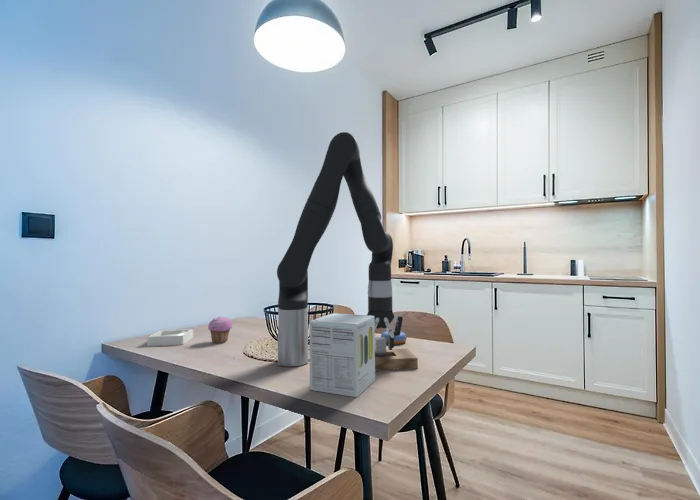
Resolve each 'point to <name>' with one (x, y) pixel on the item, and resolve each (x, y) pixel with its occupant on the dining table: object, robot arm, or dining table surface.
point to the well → (396, 360)
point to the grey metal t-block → (380, 347)
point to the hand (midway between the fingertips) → (380, 349)
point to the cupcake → (220, 329)
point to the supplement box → (342, 353)
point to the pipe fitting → (177, 333)
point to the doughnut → (397, 339)
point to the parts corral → (169, 337)
